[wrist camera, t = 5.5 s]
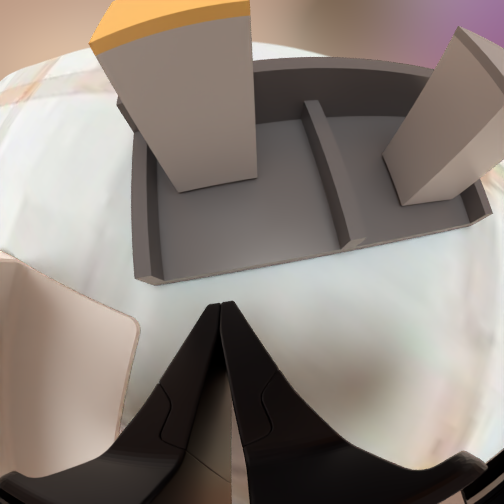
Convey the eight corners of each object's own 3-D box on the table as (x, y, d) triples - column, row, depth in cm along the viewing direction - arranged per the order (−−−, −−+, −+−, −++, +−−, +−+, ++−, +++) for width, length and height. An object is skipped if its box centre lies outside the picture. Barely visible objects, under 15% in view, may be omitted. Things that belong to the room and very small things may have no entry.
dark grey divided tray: (470, 225, 17) (523, 195, 10) (155, 285, 17) (99, 266, 10) (421, 114, 19) (452, 68, 13) (149, 143, 19) (115, 86, 13)
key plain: (452, 199, 16) (554, 113, 5) (401, 205, 16) (515, 92, 5) (432, 152, 17) (511, 53, 6) (382, 154, 17) (458, 25, 6)
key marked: (257, 177, 17) (249, 0, 5) (178, 192, 17) (88, 43, 5) (246, 128, 18) (233, -29, 6) (175, 143, 18) (112, 1, 6)
